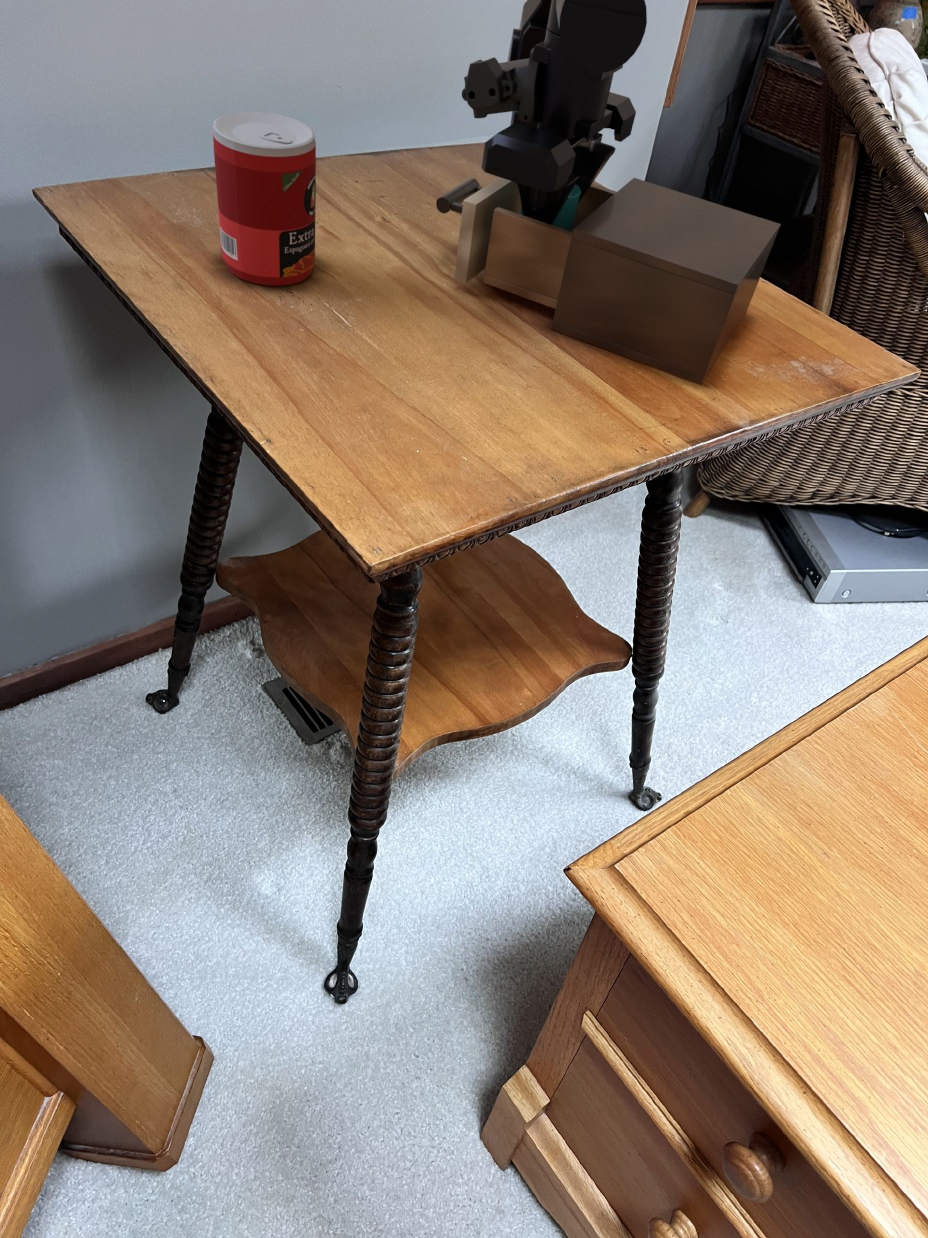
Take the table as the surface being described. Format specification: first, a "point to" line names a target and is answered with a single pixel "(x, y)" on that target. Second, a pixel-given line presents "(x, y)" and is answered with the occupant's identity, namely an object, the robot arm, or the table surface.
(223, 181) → the canned food
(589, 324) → the cabinet
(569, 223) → the teal bottle
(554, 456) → the table surface
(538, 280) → the drawer
